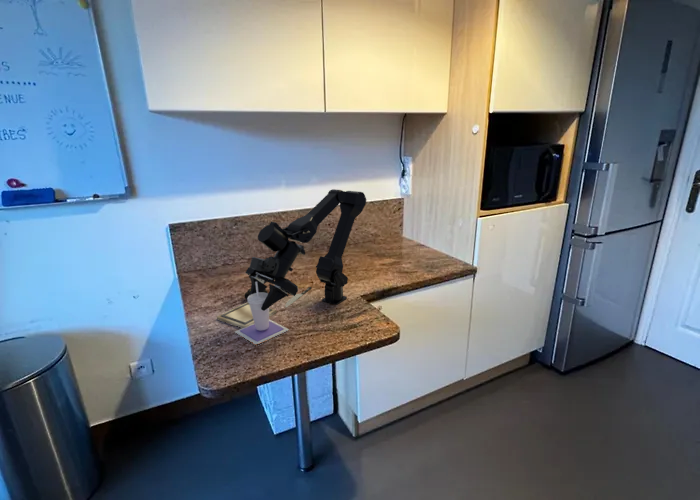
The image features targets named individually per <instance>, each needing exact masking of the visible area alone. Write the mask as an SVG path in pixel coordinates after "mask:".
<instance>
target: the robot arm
mask: <svg viewBox="0 0 700 500" xmlns="http://www.w3.org/2000/svg"><path fill="white" fill-rule="evenodd" d="M366 204H367V197H366V195H365V193H364V191H363V192H362V191H356V190H346V191H344V190H343V189H335V188H333V189H331V190H328V192H327V194H326V195H325V196H324V197H323V198H322V199H321V200H320V201H319V202H317V203H316V204H315V206H314V207H313V208H312V209H311V210H310V211H308V213H307V214H305V215H303V216H300V217H298V218H296V219H295V220H293V221H292V222H290V223H289V225H288V226H287V227H283V228H282V227H281V226H280V225H279V223H277V222H274V221H271V222H270V223H269V224H268V225H266V226H264V227H263V228H262V229H260V230H259V232H258V235H257V240H258V241H259V242H260V243H261V244H262V245H264V246H265V247H267V248H268V249H269V250H271V251H272V252H274V253H275V252H276V253H275V254H274V255H273V256H269V257H266V258H265V259H264V258H259V257H255V256H254V257H253V256H252V257H251V261H250V264H249V267H247V269H246V271H245V275H248V278H249V280H250V283H251V286H250V288H251V290H250V295H251V294H254V293H257V292H256V284H255V282H256V281H257V284H258V292H263V291H264V290H265V289H266V290H267V288H268V287H269V291H268V292H267V293H268V295H267V297H266V299H265V301H264V303H263V305H262V307H261V310H263V311H265V310H266V309H267V308H271V307H272V306H273V305H275V304H276V303H277V302H279V301H281V300H282V299H284V298H286V297H289V295H291V296H292V297H293V296H295V295H296V294H298V291H299V286H298V285H297V284H295V283H294V282H293V281H291V280H290V279H288V278H286V276H287V274H288V272H293V270H294V268H293V267H292V265H293V264H294V262H295V261H296V259H297V258H298V256H299V254H300V255H304V256H305V255H306V251H305V246H304V245H302V244H298V242H299V243H303V244H308V243H309V242H311V241H312V240H313V238H314V236H315V235H316V234H317V231H318V228H319V225H320V224H321V223H322V222H323V221H324V220H325V219H326V218H327V217H328V216H329V215H330V214H331V213H332V212H333V211H334V210H335V209H336V208H337V207H338V206H339V210H340V217H339V219H338V222H337V225H336V229H335V231H334V234H333V237H332V240H331V242H330V246H329V249H328V252H327V253H326V254H325V255H324V256H322V255H321V256H319V257H318V262H317V264H316V266H315V268H316V270H315V274H316V276H317V278H318V279H319V282H320V283H323V284H324V292H323V293H324V297H323V298H322V299H321V301H322V302H325V303H329V304H333V305H338V304H340V303H341V302H343V301H345V300H347V298H348V296H345V295H344V287H345V285H347V284H348V281H349V277H348V276H346V275H345V274H344V273H343V269H344V263H343V259H342V258H343V255H344V252H345V249H346V245H347V244H348V241H349V237H350V235H351V232H352V228H353V225H354V223H355V219H357V217H358V216H359V215H360V214H361V213H362V212H363V211H364V208H365V206H366ZM266 283H269V284H268V286H267V285H266ZM250 295H249V296H250Z"/></svg>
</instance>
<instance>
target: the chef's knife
mask: <svg viewBox="0 0 700 500" xmlns="http://www.w3.org/2000/svg"><path fill="white" fill-rule="evenodd" d="M311 289H312V286H308V287H307V288H306V289H305V290H304V291H302V292H301V293H296V295H295V296H293V295H292V297H291V298H290V299H289V300H287V301H286V303H285V305H284V307H285V308H288V307H290V305H292V304H293V303H295V302H296V301H298V299H300V298H301V297H303V295H305V294H306V293H308V292H309V291H310V290H311Z"/></svg>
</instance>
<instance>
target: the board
mask: <svg viewBox="0 0 700 500" xmlns="http://www.w3.org/2000/svg"><path fill="white" fill-rule="evenodd" d="M275 314H277V309H275V308H271V307H269V316H270V317H271V316H273V315H275ZM216 320H217V321H221V322H223V323H225V322H226V323H225V324H228V323H229V324H228V325H231V324H232V325H231V326H233V327H236V326H238V327H237V328H239V327H241V328H240V329H242V328H246V327H248V326H249V325H252V324H254V320H253V316H252V312H251V309H250V305H249V303H248V302H246V303H243V304H241V305H239V306H237V307H234V308H233V309H231V310H228V311H226V312H223V313H221V314H219V315H218V316H216Z"/></svg>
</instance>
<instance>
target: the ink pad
mask: <svg viewBox="0 0 700 500" xmlns="http://www.w3.org/2000/svg"><path fill="white" fill-rule="evenodd" d="M288 330H289V331H290V329H289V328H287V327H286V326H284V325H281V324H280V323H277V322H276V321H273V320H272V319H270V318H269V327H268V328H267V329H265V330H257V329H256V327H255V323H254V324H252V325H249V326H248V327H246V328H239V329H238V330H235V331H234V334H236V333H237V334H238V335H237V334H236V335H237V336H239V335H240V336H242V337H244V338H245V339H247V340H249V341H251V342H253V343H254V344H258V343H260V342H263V341H265V340H268V339H270V338H272V337H275V336H277V335H279V334H281V333H284V332H286V331H288ZM289 331H288V332H289ZM286 333H287V332H286ZM284 334H285V333H284ZM240 336H239V337H240ZM279 336H280V335H279ZM242 337H241V338H242ZM277 337H278V336H277ZM244 338H243V339H244ZM275 338H276V337H275ZM245 339H244V340H245ZM247 340H246V341H247Z"/></svg>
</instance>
